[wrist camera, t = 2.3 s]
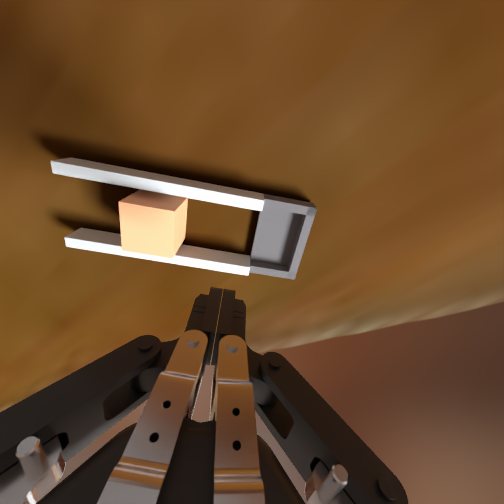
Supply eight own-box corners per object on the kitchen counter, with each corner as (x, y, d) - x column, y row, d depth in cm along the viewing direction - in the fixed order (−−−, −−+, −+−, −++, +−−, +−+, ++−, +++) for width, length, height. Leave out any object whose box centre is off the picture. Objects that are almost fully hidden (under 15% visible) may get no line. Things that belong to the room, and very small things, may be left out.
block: (187, 197, 24) (174, 211, 20) (185, 238, 26) (172, 258, 22) (141, 188, 24) (118, 201, 20) (142, 230, 26) (121, 250, 22)
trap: (312, 203, 24) (317, 208, 23) (292, 270, 28) (294, 279, 26) (263, 193, 24) (264, 198, 22) (248, 263, 27) (248, 272, 26)
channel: (263, 193, 24) (264, 200, 22) (248, 263, 27) (248, 275, 25) (70, 157, 22) (50, 160, 20) (82, 236, 26) (66, 246, 24)
